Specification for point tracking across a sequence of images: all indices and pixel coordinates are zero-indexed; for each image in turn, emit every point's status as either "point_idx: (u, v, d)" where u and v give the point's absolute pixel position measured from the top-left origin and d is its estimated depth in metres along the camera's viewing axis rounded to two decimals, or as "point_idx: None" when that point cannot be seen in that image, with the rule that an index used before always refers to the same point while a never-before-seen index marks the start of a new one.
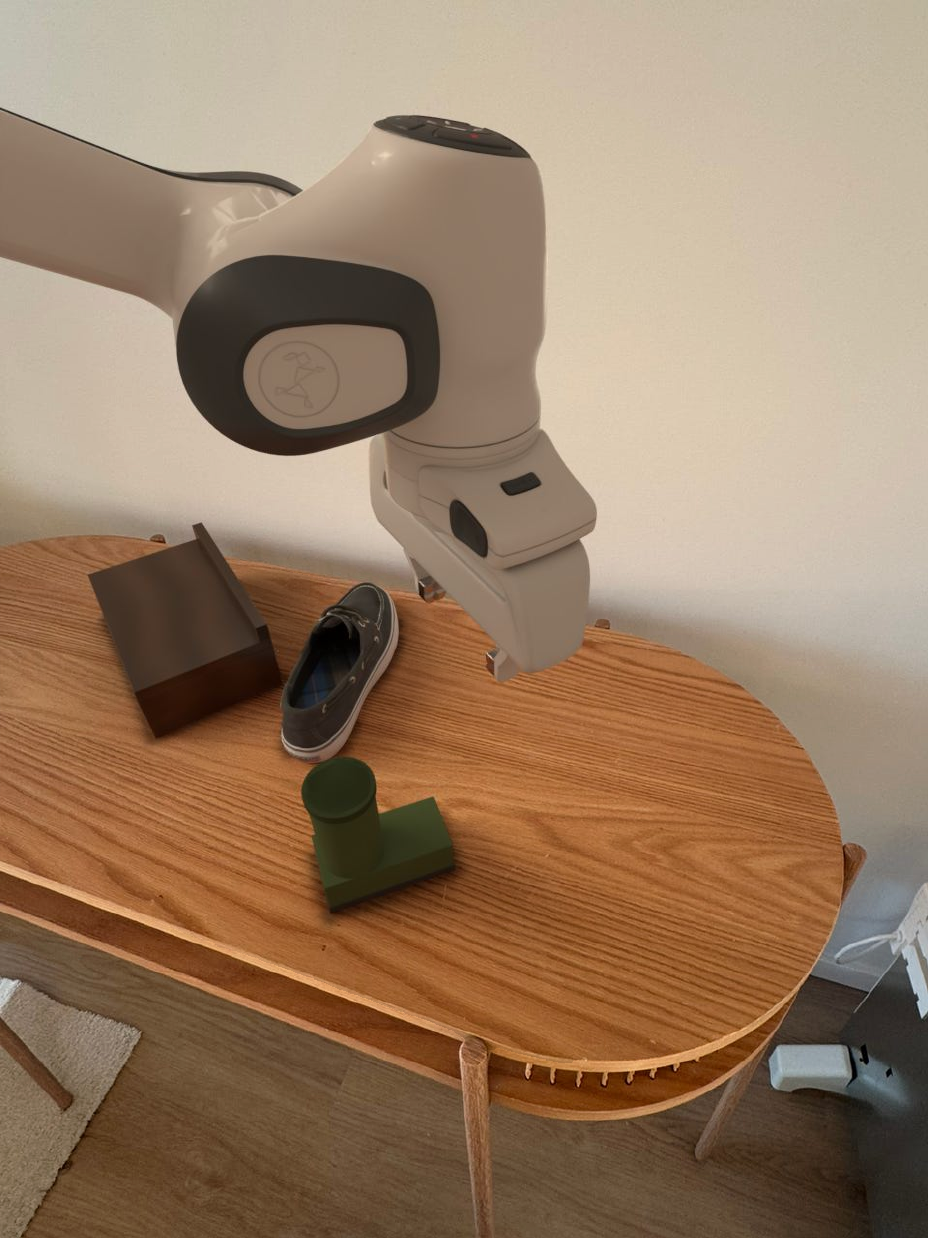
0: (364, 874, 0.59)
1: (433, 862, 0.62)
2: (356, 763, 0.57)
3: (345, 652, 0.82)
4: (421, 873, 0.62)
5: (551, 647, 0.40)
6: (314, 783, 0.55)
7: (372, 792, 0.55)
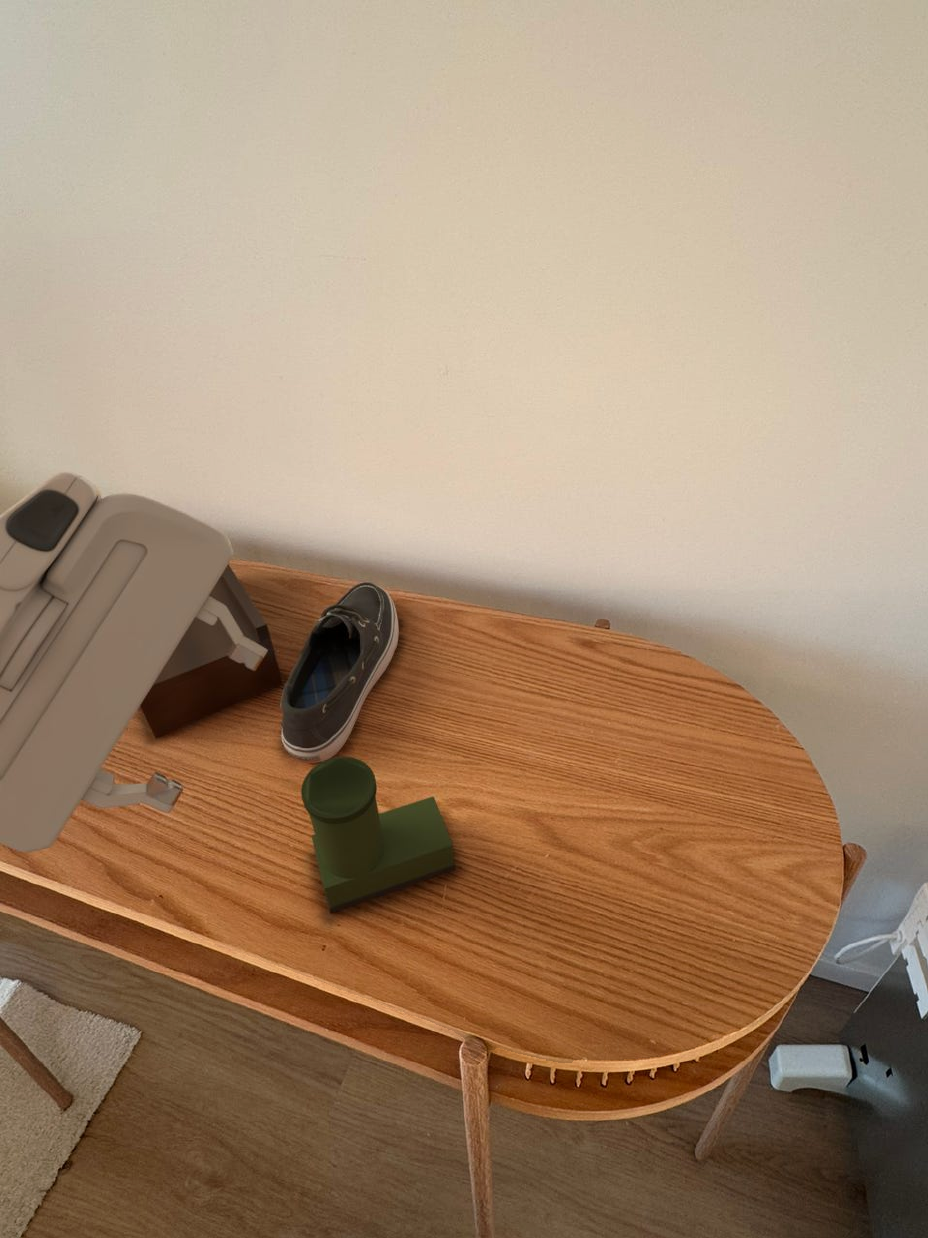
0: (364, 875, 0.59)
1: (433, 862, 0.62)
2: (356, 763, 0.57)
3: (345, 652, 0.82)
4: (421, 873, 0.62)
5: None
6: (314, 783, 0.55)
7: (372, 792, 0.55)
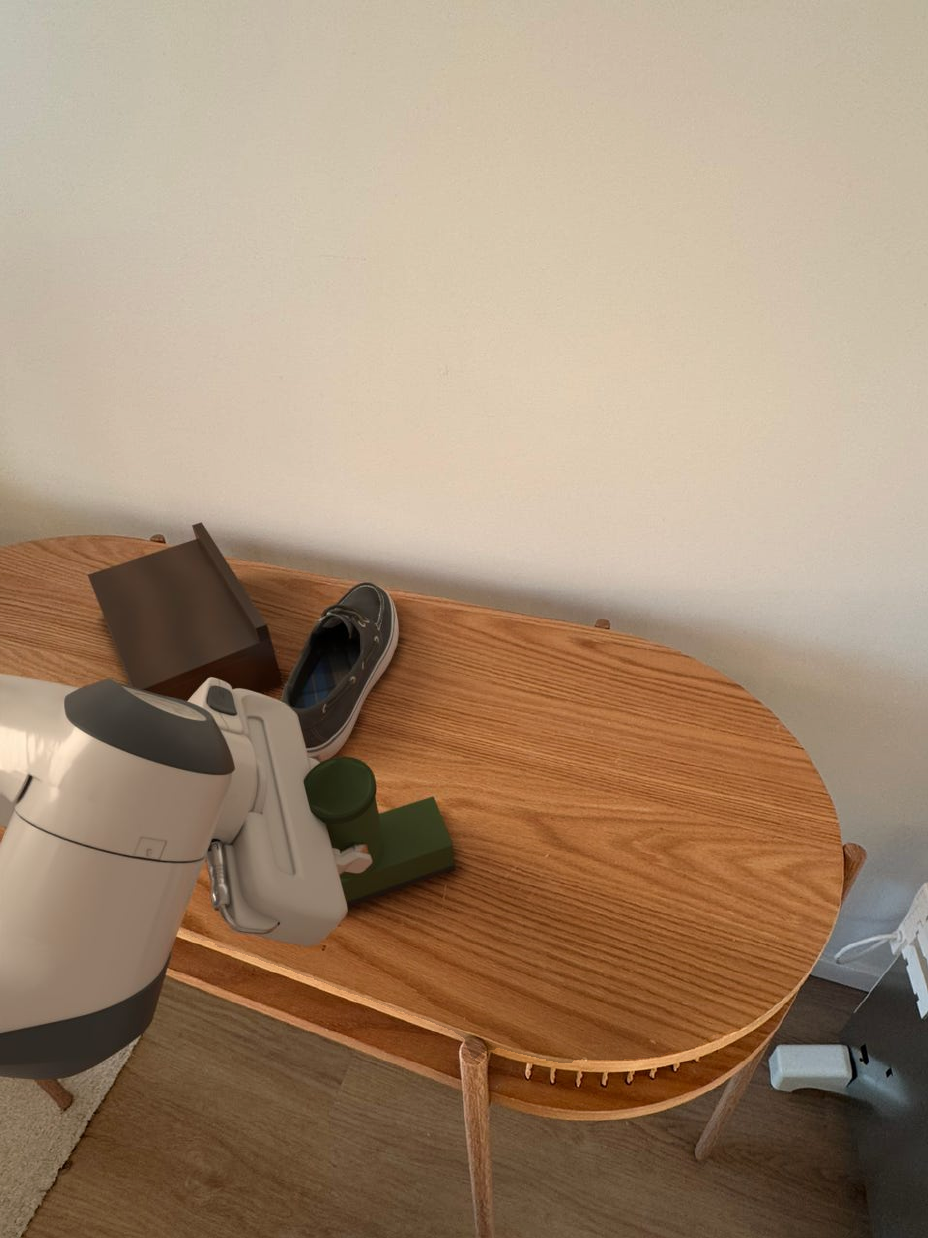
0: (364, 874, 0.59)
1: (433, 862, 0.62)
2: (356, 763, 0.57)
3: (345, 652, 0.82)
4: (421, 872, 0.62)
5: None
6: (314, 783, 0.55)
7: (372, 792, 0.55)
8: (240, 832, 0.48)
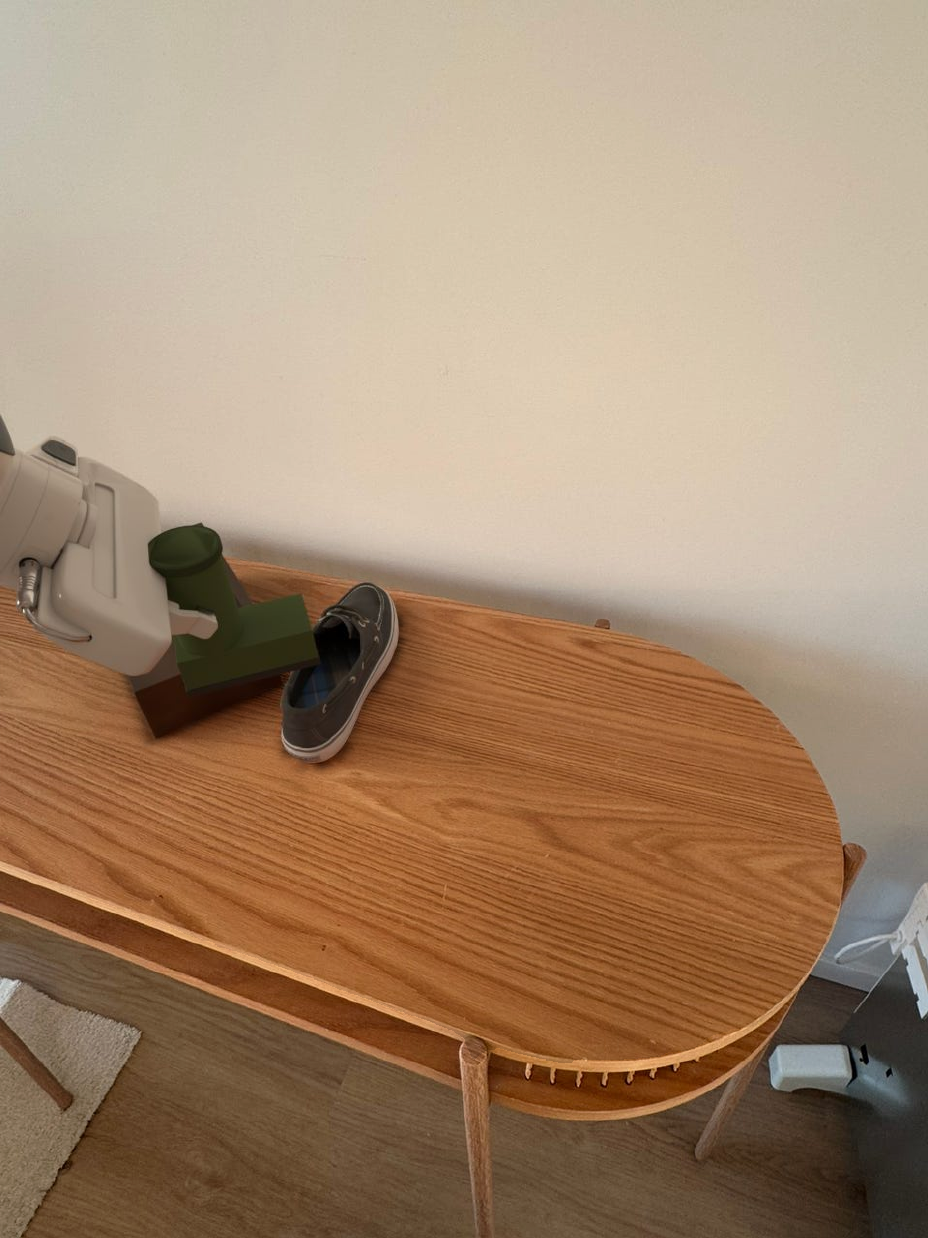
0: (218, 653, 0.59)
1: (294, 649, 0.62)
2: (204, 530, 0.56)
3: (345, 652, 0.82)
4: (282, 661, 0.62)
5: None
6: (158, 544, 0.55)
7: (215, 550, 0.54)
8: (60, 556, 0.48)
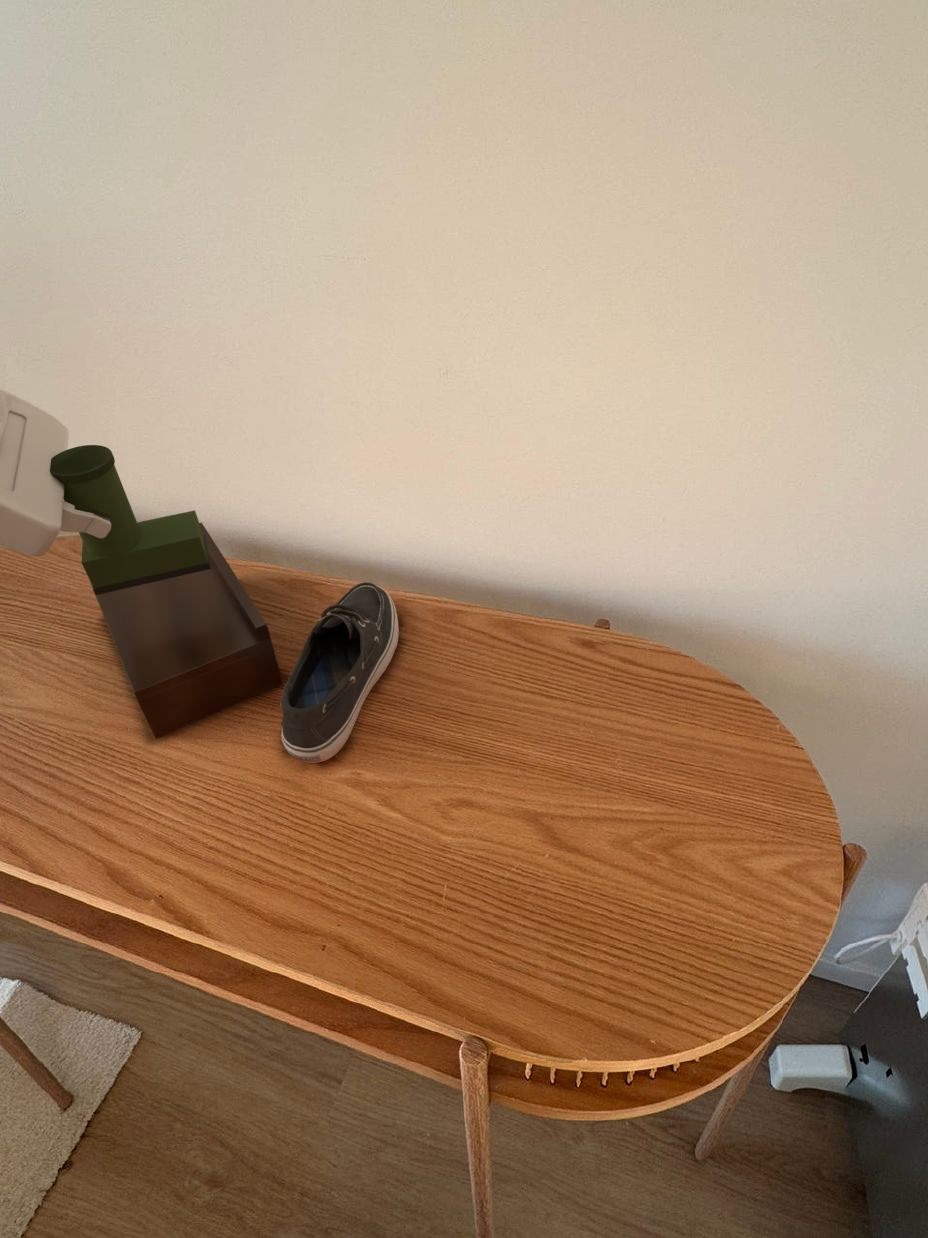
0: (117, 554, 0.70)
1: (185, 554, 0.73)
2: (100, 448, 0.68)
3: (345, 652, 0.82)
4: (176, 565, 0.73)
5: None
6: (60, 458, 0.66)
7: (105, 462, 0.66)
8: None
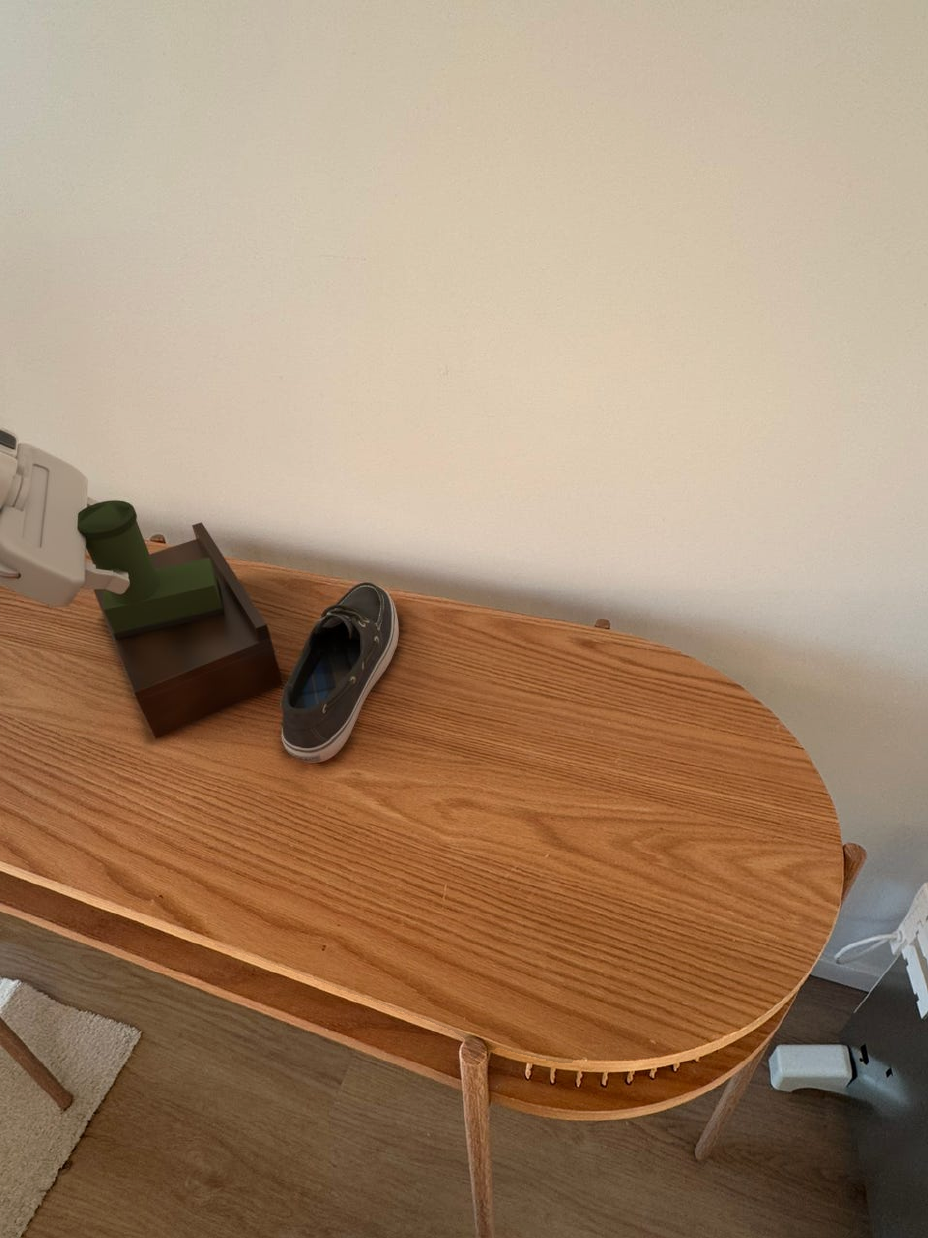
0: (137, 602, 0.75)
1: (200, 601, 0.77)
2: (123, 503, 0.72)
3: (345, 652, 0.82)
4: (192, 611, 0.77)
5: None
6: (85, 514, 0.70)
7: (128, 519, 0.70)
8: None
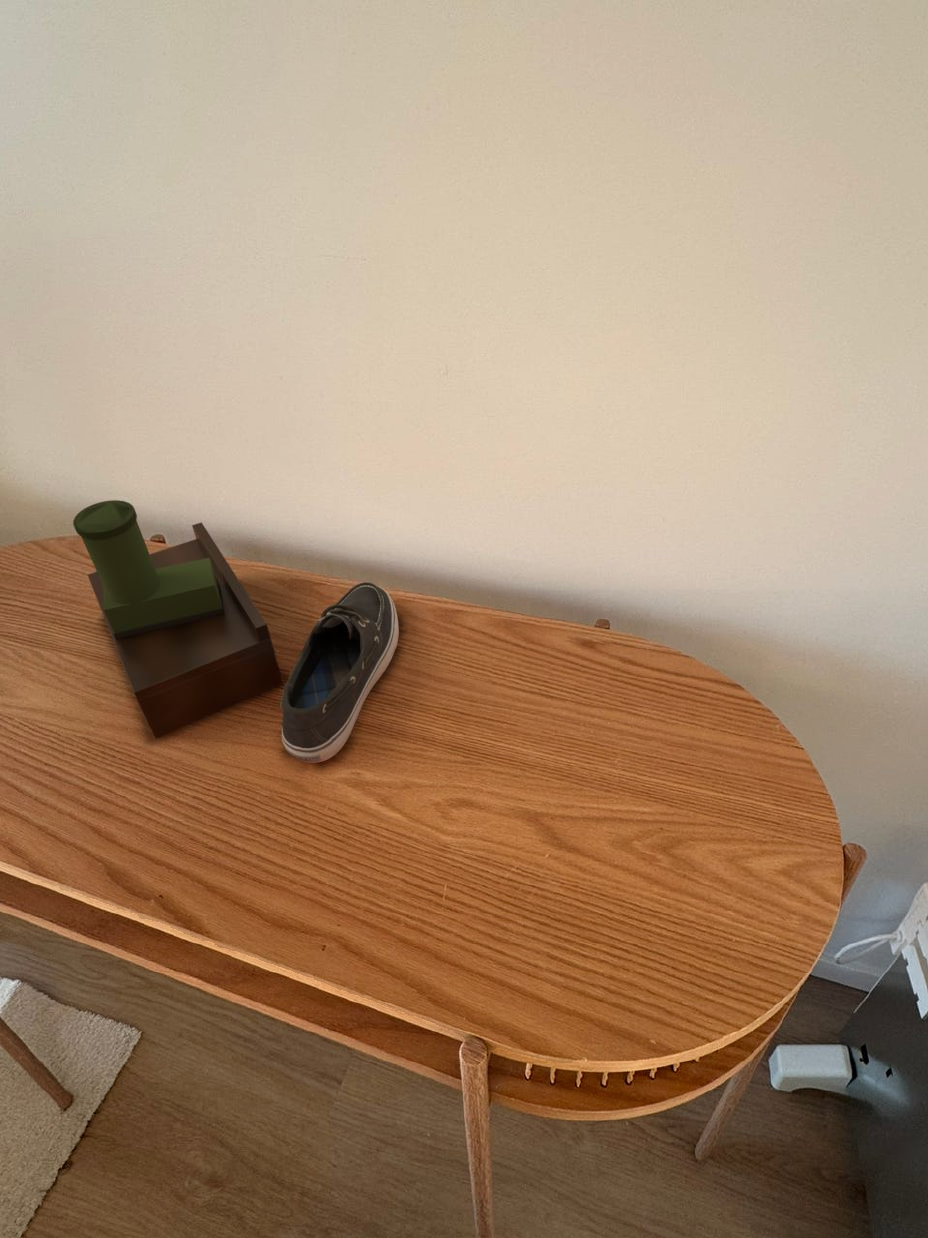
0: (137, 602, 0.75)
1: (200, 601, 0.77)
2: (123, 503, 0.72)
3: (345, 652, 0.82)
4: (192, 611, 0.77)
5: None
6: (85, 514, 0.70)
7: (128, 519, 0.70)
8: None
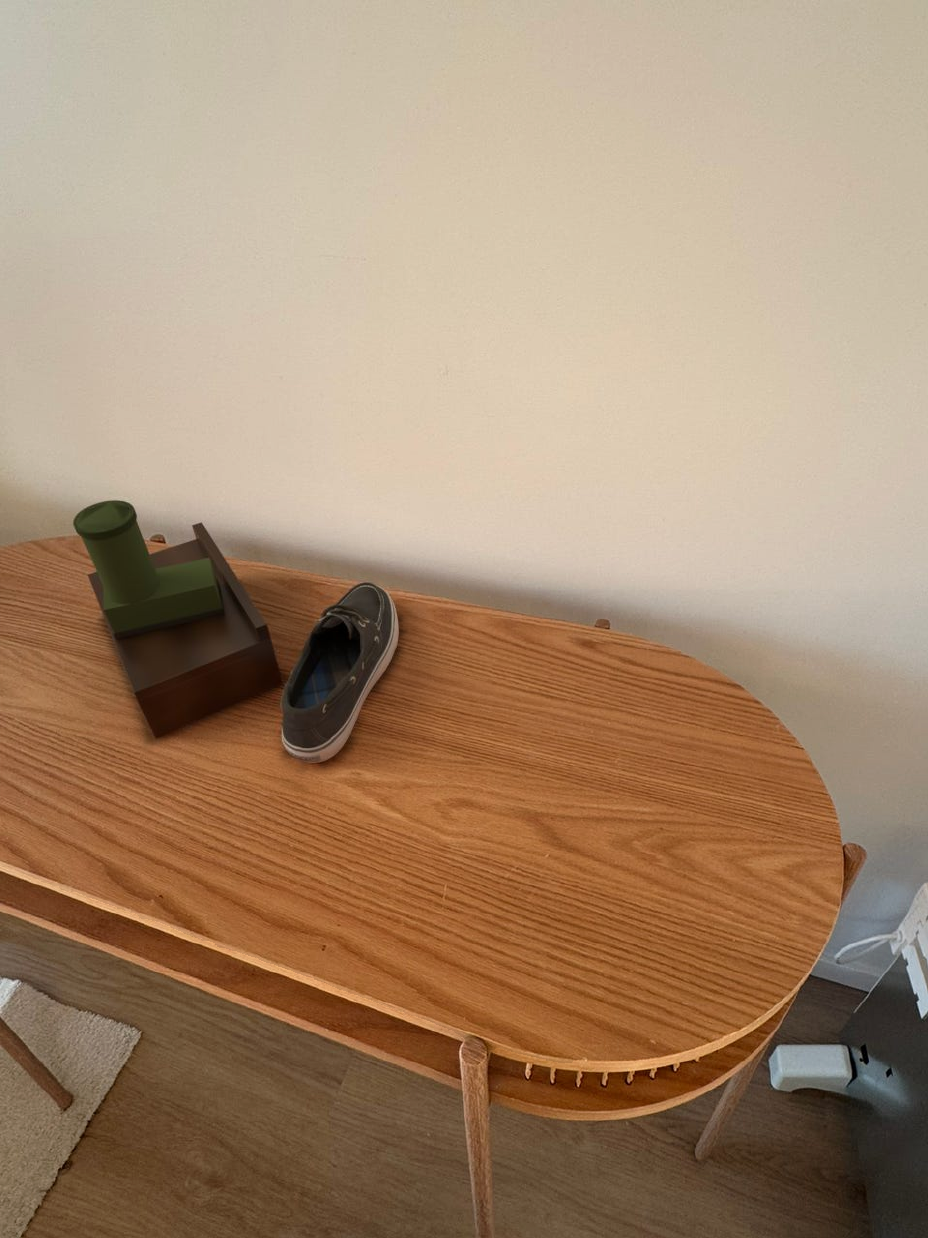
0: (137, 602, 0.75)
1: (200, 601, 0.77)
2: (123, 503, 0.72)
3: (345, 652, 0.82)
4: (192, 611, 0.77)
5: None
6: (85, 514, 0.70)
7: (128, 519, 0.70)
8: None
